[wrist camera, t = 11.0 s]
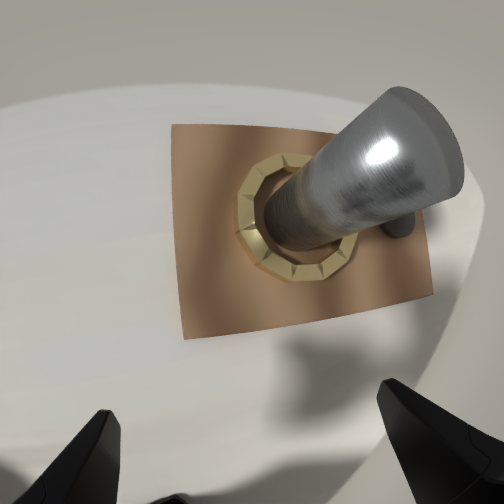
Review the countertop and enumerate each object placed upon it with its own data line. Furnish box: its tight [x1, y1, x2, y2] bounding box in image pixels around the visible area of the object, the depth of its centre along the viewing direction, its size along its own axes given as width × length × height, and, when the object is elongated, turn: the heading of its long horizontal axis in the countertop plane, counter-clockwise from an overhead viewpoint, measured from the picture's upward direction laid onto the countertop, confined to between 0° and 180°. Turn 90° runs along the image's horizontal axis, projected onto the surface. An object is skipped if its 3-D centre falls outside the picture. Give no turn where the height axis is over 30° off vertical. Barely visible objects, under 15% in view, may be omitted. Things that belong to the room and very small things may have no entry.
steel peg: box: [264, 86, 464, 252], centre depth 15 cm, size 4×4×12 cm
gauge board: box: [171, 124, 433, 340], centre depth 21 cm, size 21×14×2 cm, turn 97°
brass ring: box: [233, 152, 358, 283], centre depth 20 cm, size 8×8×1 cm
